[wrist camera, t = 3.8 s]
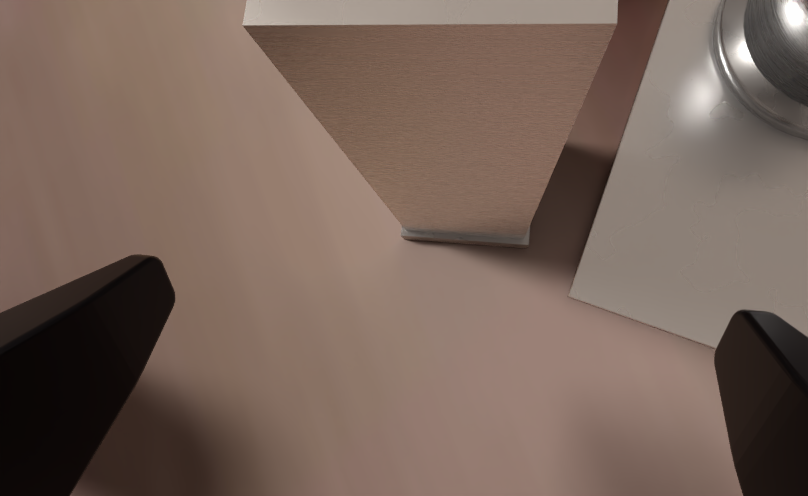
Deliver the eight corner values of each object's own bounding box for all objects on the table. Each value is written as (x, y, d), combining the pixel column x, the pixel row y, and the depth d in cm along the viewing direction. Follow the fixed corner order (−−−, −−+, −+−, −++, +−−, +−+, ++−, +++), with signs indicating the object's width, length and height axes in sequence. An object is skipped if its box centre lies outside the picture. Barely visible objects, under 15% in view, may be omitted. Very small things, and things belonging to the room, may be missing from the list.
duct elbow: (527, 248, 19) (635, 39, 5) (404, 239, 20) (225, 40, 6) (539, 65, 20) (654, -493, 6) (422, 64, 21) (306, -429, 7)
